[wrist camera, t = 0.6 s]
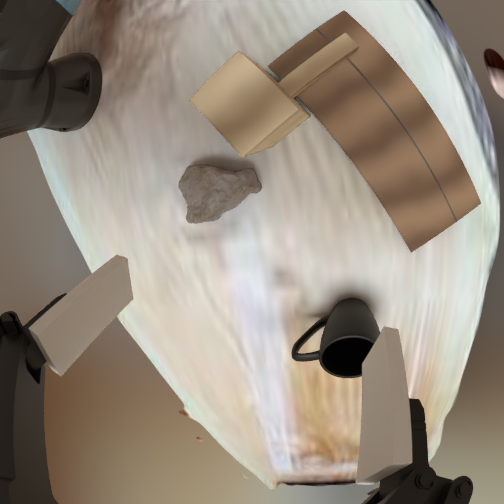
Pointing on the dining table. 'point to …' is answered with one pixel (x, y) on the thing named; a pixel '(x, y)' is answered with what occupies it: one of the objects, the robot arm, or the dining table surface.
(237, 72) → the beige block with bar
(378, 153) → the board
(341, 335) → the mug
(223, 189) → the stone
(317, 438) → the dining table surface
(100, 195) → the dining table surface
